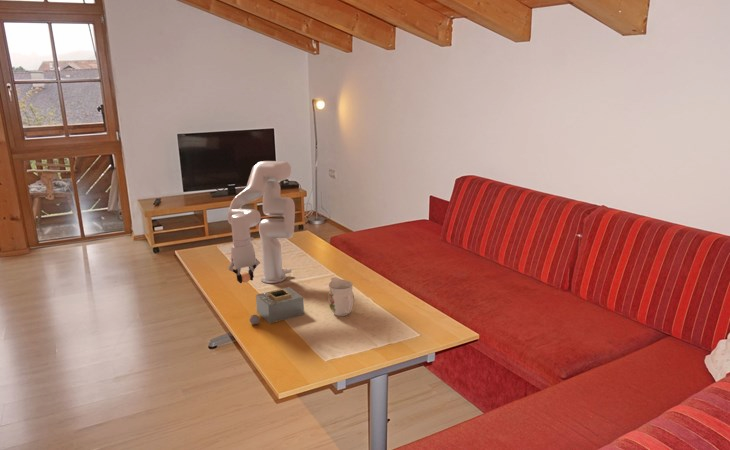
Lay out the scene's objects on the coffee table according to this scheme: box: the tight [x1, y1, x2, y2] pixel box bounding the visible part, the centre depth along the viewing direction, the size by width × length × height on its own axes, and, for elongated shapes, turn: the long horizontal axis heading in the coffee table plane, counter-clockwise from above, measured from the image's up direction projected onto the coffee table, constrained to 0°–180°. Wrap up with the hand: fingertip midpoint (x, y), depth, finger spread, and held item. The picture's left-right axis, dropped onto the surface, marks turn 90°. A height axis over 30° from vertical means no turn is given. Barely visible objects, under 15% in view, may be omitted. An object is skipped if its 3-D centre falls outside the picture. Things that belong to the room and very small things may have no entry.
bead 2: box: [249, 314, 260, 325], centre depth 226 cm, size 4×4×4 cm
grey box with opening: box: [255, 286, 305, 324], centre depth 235 cm, size 16×14×9 cm
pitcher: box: [327, 277, 355, 317], centre depth 233 cm, size 11×18×14 cm, turn 27°
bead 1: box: [240, 271, 251, 283], centre depth 239 cm, size 4×4×4 cm
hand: (245, 280), depth 240 cm, fingers closed on bead 1, 4 cm apart
